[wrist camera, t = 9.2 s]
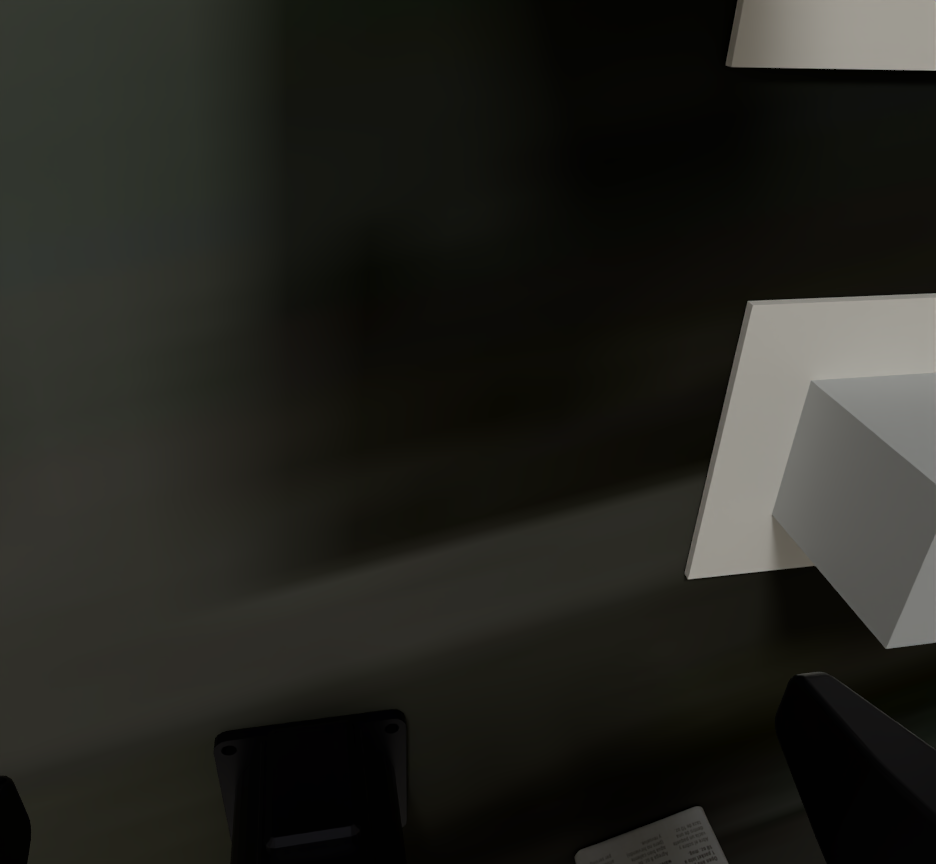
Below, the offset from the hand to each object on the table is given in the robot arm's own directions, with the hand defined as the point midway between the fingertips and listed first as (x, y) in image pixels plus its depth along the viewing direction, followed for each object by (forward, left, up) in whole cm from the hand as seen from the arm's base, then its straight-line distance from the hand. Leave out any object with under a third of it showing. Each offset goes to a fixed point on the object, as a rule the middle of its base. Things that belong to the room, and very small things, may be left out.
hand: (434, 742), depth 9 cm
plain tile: (-5, -16, -13) cm, 21 cm away
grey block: (-5, -16, -13) cm, 21 cm away
